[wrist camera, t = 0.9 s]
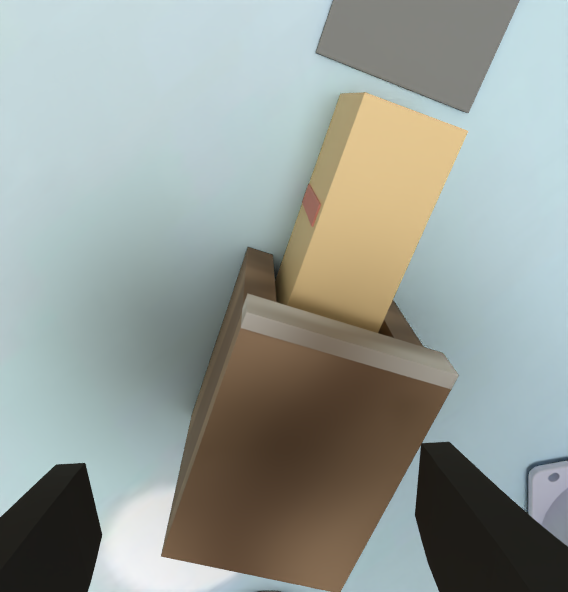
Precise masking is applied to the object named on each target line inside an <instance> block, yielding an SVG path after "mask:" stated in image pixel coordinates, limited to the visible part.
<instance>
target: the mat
mask: <svg viewBox="0 0 568 592" xmlns="http://www.w3.org/2000/svg"><path fill="white" fill-rule="evenodd" d="M519 1H520V0H333V2H332V5H331V8H330V11H329V14H328V17H327V20H326V23H325V26H324V29H323V32H322V35H321V38H320V41H319V44H318V47H317V50H316V53H317V54H320V55H323V56H325V57H328V58H330V59H333V60H335V61H338V62H340V63H343V64H345V65H348V66H350V67H353V68H355V69H358V70H360V71H363V72H365V73H368V74H370V75H373V76H375V77H378V78H380V79H383V80H385V81H388V82H390V83H393V84H395V85H398V86H400V87H403V88H405V89H408V90H411V91H413V92H416V93H418V94H421V95H423V96H426V97H428V98H431V99H433V100H436V101H438V102H441V103H443V104H446V105H448V106H451V107H453V108H456V109H458V110H461V111H463V112H466V113H469V111H470V108H471V106H472V104H473V102H474V100H475V97H476V95H477V93H478V91H479V89H480V86H481V84H482V82H483V80H484V78H485V75H486V73H487V71H488V69H489V67H490V64H491V62H492V60H493V58H494V56H495V53H496V51H497V49H498V47H499V45H500V42H501V40H502V38H503V36H504V34H505V31H506V29H507V27H508V25H509V23H510V20H511V18H512V16H513V14H514V12H515V9H516V7H517V5H518V3H519Z"/></svg>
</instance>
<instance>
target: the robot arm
mask: <svg viewBox="0 0 568 592" xmlns="http://www.w3.org/2000/svg"><path fill="white" fill-rule="evenodd" d="M552 473H553V474H552ZM551 474H552V475H551ZM415 517H416V521H417V525H418V529H419V532H420V536H421V540H422V543H423V547H424V550H425V554H426V557H427V561H428V564H429V567H430V569H431V572H432V574H433V577H434V580H435V582H436V585H437V587H438V590H439V592H568V461H562V462H557V463H551V464H546V465H540V466H536V467H534V468H533V469H532V470H531V471H530V472H529V476H528V513H526V512H525V511H524V510H523V509H522V508H521V507H520V506H518V505H517V504H516V503H515V502H514V501H513V500H512V499H510V498H509V497H508V496H507V495H506V494H505V493H504V492H503V491H502V490H500V489H499V488H498V487H497V486H496V485H495V484H494V483H493V482H492V481H491V480H490V479H489V478H487V477H486V476H485V475H484V474H483V473H482V472H481V471H480V470H479V469H478V468H477V467H476V466H475V465H474V464H472V463H471V462H470V461H469V460H468V459H467V458H466V457H465V456H464V455H463V454H462V453H461V452H460V451H459V450H458V449H456V448H455V447H454V446H453V445H452V444H451V443H450V442H437V443H421V452H420V463H419V475H418V486H417V498H416V509H415ZM101 538H102V532H101V528H100V523H99V519H98V515H97V511H96V506H95V502H94V498H93V494H92V490H91V485H90V481H89V477H88V473H87V468H86V464H85V463H76V464H58V465H55V466H54V467H53V468H52V469H51V470H50V471H49V472H48V473H47V474H45V475H44V476H43V477H42V478H41V479H40V480H39V481H38V482H37V483H36V484H35V485H34V486H33V487H32V488H31V489H30V490H29V491H28V492H26V493H25V494H24V495H23V496H22V497H21V498H20V499H19V500H18V501H17V502H16V503H15V504H14V505H13V506H12V507H11V508H10V509H9V510H8V511H7V512H6V513H4V514H3V515H2V516H1V517H0V592H88V589H89V586H90V583H91V579H92V575H93V571H94V567H95V563H96V559H97V555H98V551H99V546H100V542H101Z"/></svg>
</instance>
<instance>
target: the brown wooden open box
mask: <svg viewBox="0 0 568 592" xmlns="http://www.w3.org/2000/svg"><path fill="white" fill-rule="evenodd" d="M458 376H459V375H458V373H457V372H456V371H455V369H454V368H453V366H452V365H451V363H450V362H449V361H448V359H447V358H446V356H445V355H444V354H443V353H441V352H438V351H435V350H431V349H428V348H425V347H423V345H422V344H421V342H420V341H419V339H418V338H417V336H416V334H415V333H414V331H413V330H412V328H411V327H410V325H409V324H408V322H407V321H406V319H405V318H404V316H403V315H402V313H401V311H400V310H399V308H398V307H397V305H396V304H395V302H394V301H393V300H392V303H391V305H390V307H389V309H388V312H387V314H386V316H385V318H384V320H383V323H382V325H381V327H380V329H379V332H378V333H376V332H372V331H369V330H366V329H363V328H359V327H356V326H353V325H349V324H346V323H343V322H340V321H336V320H333V319H330V318H326V317H323V316H320V315H317V314H313V313H310V312H307V311H303V310H300V309H297V308H294V307H290V306H287V305H284V304H280V303H277V302H276V289H275V276H274V263H273V255H272V254H269V253H265V252H262V251H259V250H256V249H253V248H250V247H248V248H247V251H246V254H245V257H244V260H243V263H242V266H241V269H240V272H239V275H238V278H237V281H236V284H235V287H234V290H233V293H232V296H231V299H230V302H229V305H228V308H227V311H226V314H225V317H224V320H223V323H222V326H221V329H220V332H219V335H218V338H217V341H216V344H215V347H214V350H213V353H212V356H211V359H210V362H209V365H208V368H207V371H206V374H205V377H204V380H203V383H202V386H201V389H200V392H199V395H198V398H197V401H196V404H195V407H194V410H193V413H192V416H191V420H190V425H189V429H188V434H187V439H186V443H185V448H184V452H183V457H182V462H181V466H180V471H179V475H178V480H177V485H176V489H175V494H174V498H173V503H172V508H171V512H170V517H169V522H168V526H167V531H166V535H165V540H164V545H163V549H162V554H161V556H162V557H166V558H171V559H176V560H181V561H186V562H191V563H195V564H200V565H205V566H210V567H215V568H220V569H224V570H229V571H234V572H239V573H244V574H248V575H253V576H258V577H263V578H268V579H273V580H277V581H282V582H287V583H292V584H297V585H302V586H306V587H311V588H316V589H321V590H326V591H330V592H341V590H342V588H343V586H344V584H345V582H346V581H347V579H348V577H349V575H350V573H351V571H352V570H353V568H354V566H355V564H356V562H357V560H358V559H359V557H360V555H361V553H362V551H363V550H364V548H365V546H366V544H367V542H368V540H369V539H370V537H371V535H372V533H373V531H374V529H375V528H376V526H377V524H378V522H379V520H380V518H381V517H382V515H383V513H384V511H385V509H386V508H387V506H388V504H389V502H390V500H391V498H392V497H393V495H394V493H395V491H396V489H397V487H398V486H399V484H400V482H401V480H402V478H403V476H404V475H405V473H406V471H407V469H408V467H409V466H410V464H411V462H412V460H413V458H414V456H415V455H416V453H417V451H418V449H419V447H420V445H421V443H422V442H423V440H424V438H425V436H426V434H427V433H428V431H429V429H430V427H431V425H432V424H433V422H434V420H435V418H436V416H437V414H438V413H439V411H440V409H441V407H442V405H443V403H444V402H445V400H446V398H447V396H448V394H449V392H450V391H451V389H452V387H453V385H454V383H455V382H456V380H457V378H458Z"/></svg>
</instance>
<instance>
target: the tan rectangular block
mask: <svg viewBox="0 0 568 592" xmlns="http://www.w3.org/2000/svg"><path fill="white" fill-rule="evenodd" d="M467 133H468V131H467V130H464V129H461V128H459V127H456V126H453V125H451V124H448V123H445V122H443V121H440V120H437V119H435V118H432V117H429V116H427V115H424V114H421V113H419V112H416V111H413V110H411V109H408V108H405V107H403V106H400V105H397V104H395V103H392V102H389V101H387V100H384V99H381V98H379V97H376V96H373V95H371V94H368V93H365V92H363V93H342V94H340V96H339V99H338V102H337V105H336V108H335V110H334V113H333V116H332V119H331V122H330V125H329V128H328V131H327V133H326V136H325V139H324V142H323V145H322V148H321V151H320V153H319V156H318V159H317V162H316V165H315V168H314V171H313V174H312V176H311V179H310V182H309V184H308V187H307V189H306V192H305V195H304V198H303V201H302V205H301V208H300V211H299V214H298V217H297V219H296V222H295V225H294V228H293V231H292V234H291V237H290V239H289V242H288V245H287V248H286V251H285V254H284V257H283V260H282V262H281V265H280V268H279V271H278V274H277V277H276V280H275V289H276V302H277V303H280V304H284V305H287V306H290V307H294V308H297V309H300V310H303V311H307V312H310V313H313V314H317V315H320V316H323V317H326V318H330V319H333V320H336V321H340V322H343V323H346V324H349V325H353V326H356V327H359V328H363V329H366V330H369V331H372V332H376V333H378V332H379V329H380V327H381V325H382V323H383V320H384V318H385V316H386V314H387V312H388V309H389V307H390V305H391V303H392V300H393V298H394V296H395V294H396V291H397V289H398V287H399V285H400V282H401V280H402V278H403V276H404V274H405V271H406V269H407V267H408V265H409V262H410V260H411V258H412V256H413V253H414V251H415V249H416V247H417V245H418V242H419V240H420V238H421V236H422V233H423V231H424V229H425V227H426V224H427V222H428V220H429V218H430V215H431V213H432V211H433V209H434V207H435V204H436V202H437V200H438V198H439V195H440V193H441V191H442V189H443V186H444V184H445V182H446V180H447V177H448V175H449V173H450V171H451V169H452V166H453V164H454V162H455V160H456V157H457V155H458V153H459V151H460V148H461V146H462V144H463V142H464V139H465V137H466V135H467Z"/></svg>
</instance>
